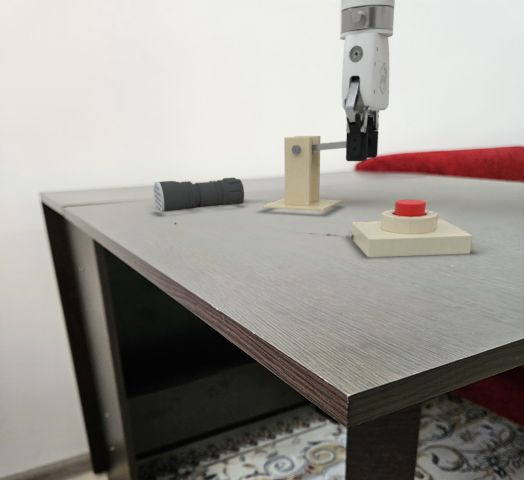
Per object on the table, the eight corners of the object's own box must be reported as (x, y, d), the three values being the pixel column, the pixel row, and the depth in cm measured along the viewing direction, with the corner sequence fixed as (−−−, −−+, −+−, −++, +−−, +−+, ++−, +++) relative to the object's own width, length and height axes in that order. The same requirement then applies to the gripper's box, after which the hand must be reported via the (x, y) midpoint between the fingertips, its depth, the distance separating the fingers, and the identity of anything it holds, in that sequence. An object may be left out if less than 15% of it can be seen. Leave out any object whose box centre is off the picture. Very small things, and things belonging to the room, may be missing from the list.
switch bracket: (341, 207, 92) (343, 134, 87) (323, 216, 84) (325, 138, 80) (283, 204, 96) (283, 135, 91) (262, 212, 89) (260, 138, 84)
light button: (419, 213, 65) (420, 198, 65) (428, 218, 62) (430, 203, 61) (390, 214, 65) (391, 199, 65) (398, 219, 62) (399, 204, 61)
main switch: (370, 149, 84) (370, 133, 83) (361, 151, 80) (361, 135, 79) (301, 155, 89) (300, 140, 88) (289, 158, 85) (288, 142, 84)
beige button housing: (440, 235, 70) (443, 205, 68) (470, 254, 61) (474, 219, 59) (351, 238, 70) (352, 208, 68) (367, 258, 61) (370, 223, 59)
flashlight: (236, 204, 98) (235, 174, 95) (247, 208, 93) (246, 177, 91) (155, 212, 92) (152, 180, 90) (163, 217, 88) (159, 183, 85)
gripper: (376, 14, 67) (370, 164, 74) (405, 29, 81) (398, 154, 88) (321, 21, 70) (320, 164, 77) (358, 34, 84) (354, 155, 91)
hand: (361, 158), depth 83 cm, fingers closed on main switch, 5 cm apart
